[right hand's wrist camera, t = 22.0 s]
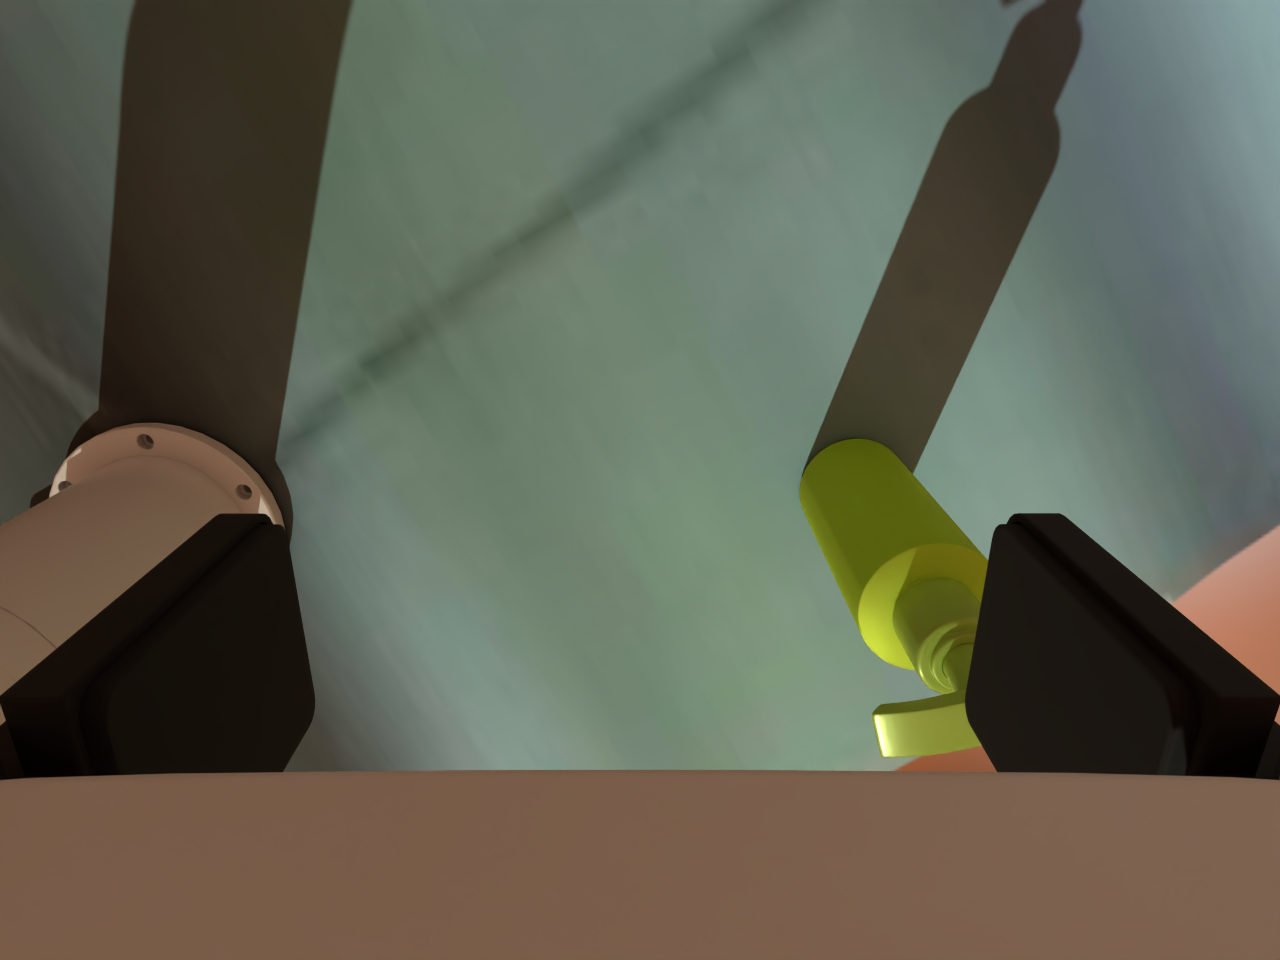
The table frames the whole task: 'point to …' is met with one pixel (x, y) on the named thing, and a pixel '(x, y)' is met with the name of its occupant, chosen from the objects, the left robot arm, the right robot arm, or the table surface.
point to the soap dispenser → (900, 586)
